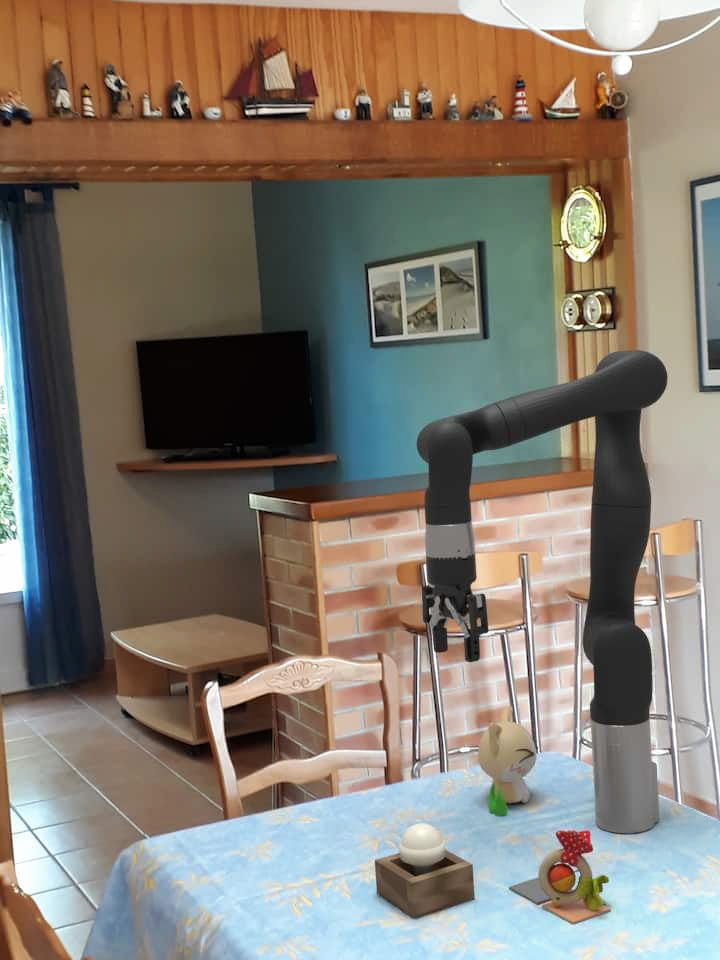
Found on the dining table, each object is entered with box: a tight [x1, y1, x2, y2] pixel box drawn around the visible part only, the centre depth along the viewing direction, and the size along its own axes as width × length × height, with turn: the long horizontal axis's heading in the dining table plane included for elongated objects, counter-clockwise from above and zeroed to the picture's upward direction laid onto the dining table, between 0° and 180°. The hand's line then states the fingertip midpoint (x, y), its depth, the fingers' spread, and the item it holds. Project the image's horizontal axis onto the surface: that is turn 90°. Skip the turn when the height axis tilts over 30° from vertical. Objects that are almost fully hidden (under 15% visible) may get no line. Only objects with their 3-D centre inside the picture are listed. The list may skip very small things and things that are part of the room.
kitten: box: [477, 706, 539, 817], centre depth 204 cm, size 15×10×15 cm
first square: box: [508, 876, 574, 905], centre depth 168 cm, size 6×6×1 cm
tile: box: [541, 899, 612, 925], centre depth 162 cm, size 6×6×1 cm
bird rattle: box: [537, 829, 610, 911], centre depth 161 cm, size 6×11×9 cm
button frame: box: [374, 849, 476, 920], centre depth 168 cm, size 10×10×5 cm
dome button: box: [398, 822, 446, 877], centre depth 168 cm, size 6×6×7 cm
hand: (456, 656), depth 183 cm, fingers open, 8 cm apart
